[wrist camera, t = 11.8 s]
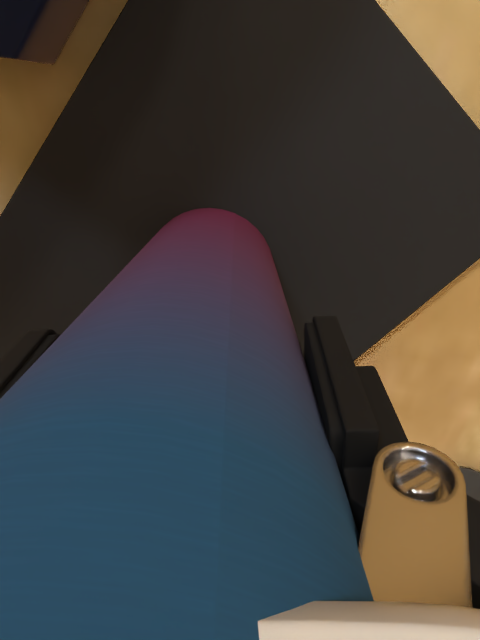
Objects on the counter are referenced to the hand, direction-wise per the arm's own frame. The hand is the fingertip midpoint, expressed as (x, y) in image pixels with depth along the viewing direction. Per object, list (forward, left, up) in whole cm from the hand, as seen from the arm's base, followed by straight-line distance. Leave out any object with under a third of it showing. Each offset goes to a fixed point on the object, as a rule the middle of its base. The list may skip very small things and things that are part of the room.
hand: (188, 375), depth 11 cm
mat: (0, 0, -7) cm, 7 cm away
